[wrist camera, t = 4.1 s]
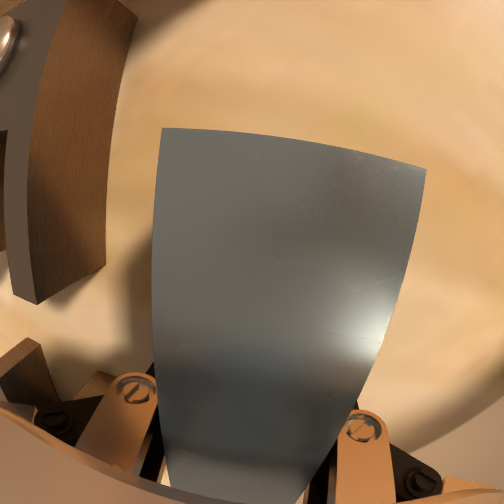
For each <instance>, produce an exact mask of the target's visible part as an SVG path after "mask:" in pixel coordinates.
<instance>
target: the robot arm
mask: <svg viewBox="0 0 504 504" xmlns="http://www.w3.org/2000/svg"><path fill="white" fill-rule="evenodd" d="M165 465H166V458H165V452H164V446H163V440H162V433H161V426H160V418H159V410H158V401H157V391H156V381H155V368H154V362H153V363H152V365H151V366H150V368H149V369H148V371H147V372H146V373H145V374H144V373H137V372H133V373H126V374H123V375H120V376H119V377H117V378H116V379H115V380H114V381H113V382H112V383H111V385H110V386H109V388H108V390H107V391H106V393H105V394H104V395H99V396H93V397H88V398H82V399H77V400H71V401H64V402H58V403H52V404H48V405H45V406H43V407H42V408H40V409H39V410H37V408H36V406H32V405H25V404H18V403H12V402H7V401H2V400H0V504H245V503H238V502H232V501H226V500H221V499H216V498H211V497H207V496H202V495H198V494H194V493H190V492H186V491H183V490H179V489H175V488H172V487H169V486H165V485H162V484H160V483H161V480H162V476H163V472H164V469H165ZM303 504H504V490H500V489H495V488H494V487H493V486H492V485H489V484H485V483H478V482H472V481H467V480H461V479H456V478H452V477H447V476H446V477H445V478H444V479H441V476H440V475H439V474H438V472H437V471H435V470H434V469H433V468H431V467H429V466H428V465H426V464H424V463H422V462H421V461H419V460H417V459H416V458H414V457H412V456H410V455H409V454H407V453H405V452H404V451H402V450H400V449H399V448H397V447H396V446H394V445H392V444H391V443H389V439H388V433H387V428H386V425H385V423H384V422H383V420H382V419H381V418H380V417H378V416H377V415H376V414H374V413H372V412H369V411H365V410H359V407H358V403H357V401H356V403H355V405H354V407H353V409H352V411H351V413H350V415H349V417H348V419H347V421H346V423H345V424H344V426H343V428H342V430H341V432H340V434H339V435H338V437H337V439H336V441H335V442H334V444H333V446H332V448H331V449H330V451H329V453H328V454H327V456H326V458H325V459H324V461H323V463H322V464H321V466H320V467H319V469H318V470H317V472H316V474H315V475H314V477H313V478H312V480H311V481H310V483H309V484H308V486H307V487H306V488H305V492H304V499H303Z"/></svg>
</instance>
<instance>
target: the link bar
mask: <svg viewBox="0 0 504 504" xmlns="http://www.w3.org/2000/svg"><path fill="white" fill-rule="evenodd" d="M425 176H426V169H423V168H420V167H417V166H413V165H410V164H406V163H403V162H399V161H395V160H392V159H388V158H384V157H380V156H376V155H372V154H368V153H363V152H359V151H354V150H350V149H345V148H340V147H335V146H330V145H325V144H320V143H314V142H308V141H302V140H296V139H289V138H283V137H275V136H268V135H260V134H251V133H241V132H231V131H219V130H204V129H184V128H162V133H161V141H160V149H159V157H158V167H157V177H156V188H155V200H154V215H153V234H152V267H151V303H152V336H153V354H154V368H155V381H156V391H157V401H158V410H159V418H160V426H161V433H162V440H163V446H164V452H165V458H166V464H167V469H168V475H169V480H170V485H171V487H172V488H175V489H179V490H183V491H186V492H190V493H194V494H198V495H202V496H207V497H211V498H216V499H221V500H226V501H232V502H238V503H245V504H295V503H296V501H297V500H298V498H299V497H300V495H301V494H302V493H303V491H304V490H305V488H306V487H307V486H308V484H309V483H310V481H311V480H312V478H313V477H314V475H315V474H316V472H317V470H318V469H319V467H320V466H321V464H322V463H323V461H324V459H325V458H326V456H327V454H328V453H329V451H330V449H331V448H332V446H333V444H334V442H335V441H336V439H337V437H338V435H339V434H340V432H341V430H342V428H343V426H344V424H345V423H346V421H347V419H348V417H349V415H350V413H351V411H352V409H353V407H354V405H355V403H356V401H357V399H358V397H359V395H360V393H361V391H362V388H363V386H364V384H365V382H366V380H367V377H368V375H369V373H370V371H371V368H372V366H373V364H374V361H375V359H376V356H377V354H378V351H379V349H380V346H381V344H382V341H383V339H384V336H385V333H386V330H387V328H388V325H389V322H390V319H391V316H392V314H393V311H394V308H395V305H396V301H397V298H398V295H399V292H400V289H401V285H402V282H403V279H404V275H405V271H406V268H407V264H408V260H409V257H410V253H411V249H412V244H413V240H414V236H415V231H416V227H417V222H418V217H419V212H420V207H421V201H422V196H423V189H424V183H425Z"/></svg>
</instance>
